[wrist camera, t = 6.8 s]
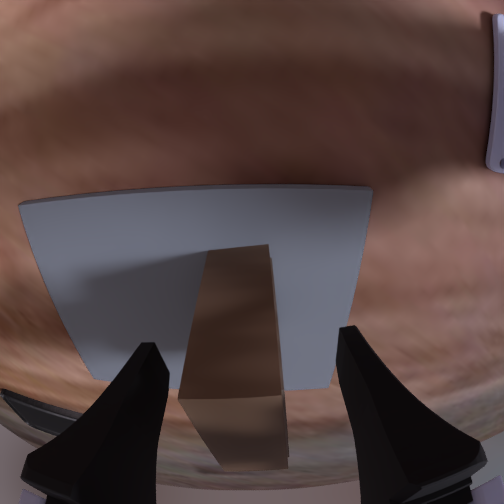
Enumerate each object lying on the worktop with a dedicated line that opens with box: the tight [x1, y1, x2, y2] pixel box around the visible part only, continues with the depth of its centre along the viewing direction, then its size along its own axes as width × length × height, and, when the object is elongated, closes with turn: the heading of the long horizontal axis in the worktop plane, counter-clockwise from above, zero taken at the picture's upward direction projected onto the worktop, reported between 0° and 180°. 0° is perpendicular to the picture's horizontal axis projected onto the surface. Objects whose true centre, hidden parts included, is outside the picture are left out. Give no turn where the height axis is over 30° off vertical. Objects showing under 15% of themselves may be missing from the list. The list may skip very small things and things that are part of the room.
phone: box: [0, 389, 83, 436], centre depth 24 cm, size 8×1×15 cm
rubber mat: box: [18, 184, 373, 390], centre depth 15 cm, size 16×13×1 cm
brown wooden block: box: [178, 244, 289, 471], centre depth 11 cm, size 3×6×7 cm, turn 7°
